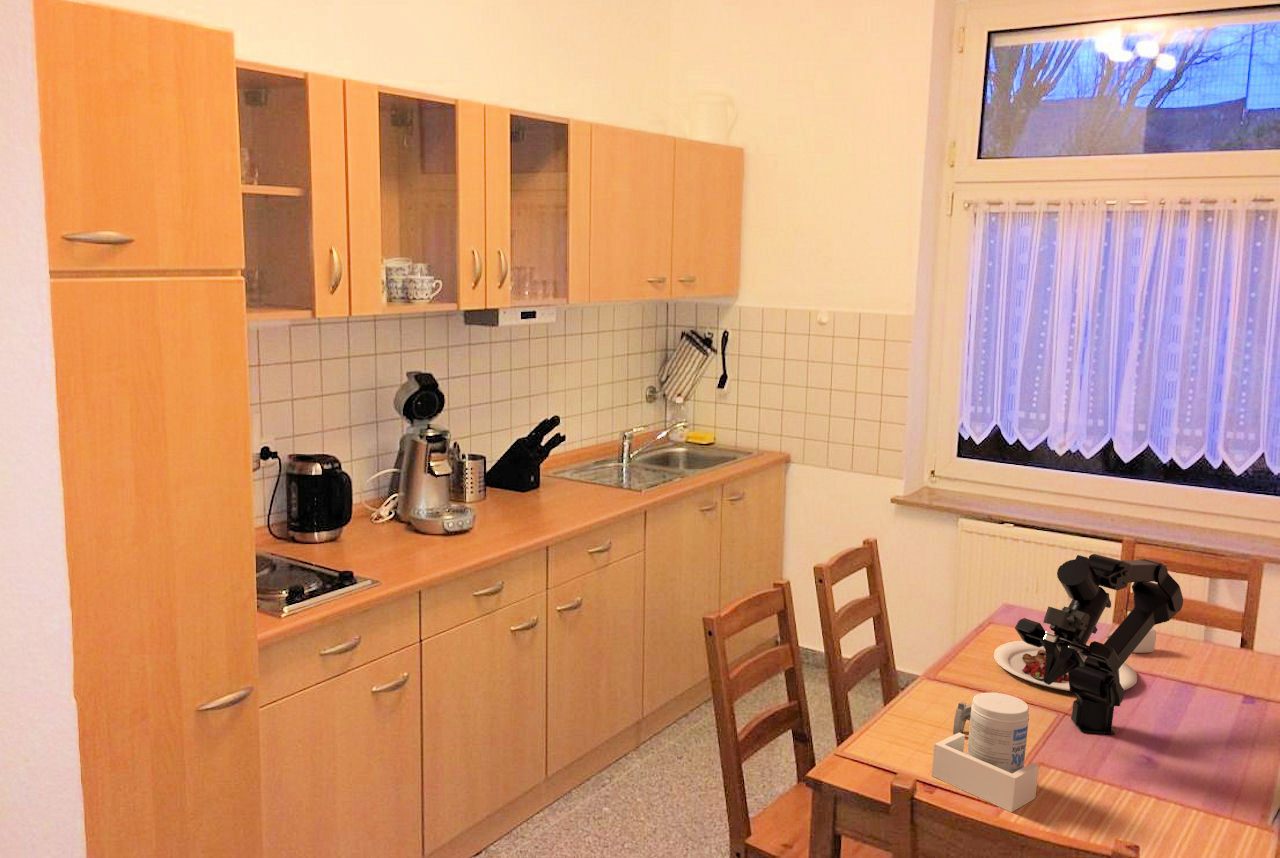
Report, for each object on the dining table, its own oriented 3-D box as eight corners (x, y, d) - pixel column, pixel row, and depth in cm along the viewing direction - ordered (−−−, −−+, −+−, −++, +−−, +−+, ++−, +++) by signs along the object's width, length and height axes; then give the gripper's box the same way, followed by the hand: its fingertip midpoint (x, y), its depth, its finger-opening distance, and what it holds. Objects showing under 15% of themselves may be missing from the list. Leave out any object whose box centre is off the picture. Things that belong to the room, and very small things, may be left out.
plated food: (1145, 667, 243) (1147, 653, 243) (1124, 712, 218) (1126, 696, 218) (1011, 638, 259) (1012, 625, 259) (977, 676, 234) (979, 661, 234)
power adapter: (1115, 656, 249) (1118, 632, 248) (1102, 648, 254) (1104, 625, 253) (1156, 654, 252) (1159, 630, 251) (1142, 646, 256) (1145, 623, 255)
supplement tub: (1021, 800, 180) (1030, 718, 178) (963, 789, 183) (971, 708, 181) (1021, 774, 189) (1029, 696, 187) (965, 764, 192) (973, 687, 190)
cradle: (956, 763, 192) (959, 732, 191) (1035, 798, 181) (1038, 765, 180) (931, 775, 187) (934, 743, 186) (1011, 812, 176) (1015, 778, 175)
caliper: (958, 738, 203) (961, 706, 202) (952, 736, 204) (955, 704, 203) (997, 705, 219) (1000, 675, 218) (992, 703, 220) (995, 674, 219)
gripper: (1024, 577, 203) (986, 645, 199) (1118, 605, 189) (1080, 679, 184) (1043, 607, 210) (1007, 674, 205) (1136, 637, 195) (1099, 709, 191)
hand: (1046, 683), depth 196 cm, fingers closed
